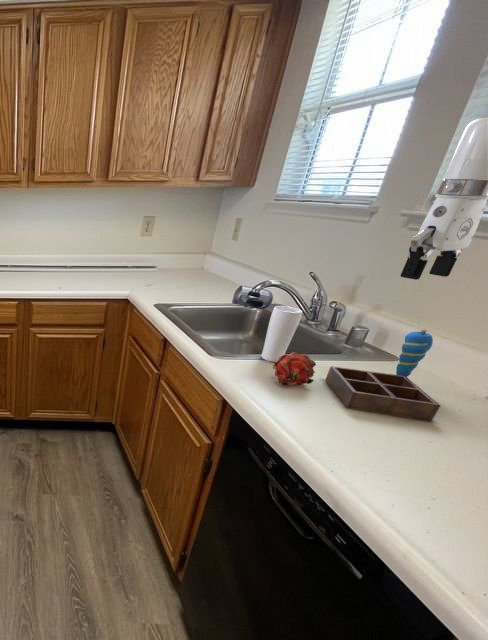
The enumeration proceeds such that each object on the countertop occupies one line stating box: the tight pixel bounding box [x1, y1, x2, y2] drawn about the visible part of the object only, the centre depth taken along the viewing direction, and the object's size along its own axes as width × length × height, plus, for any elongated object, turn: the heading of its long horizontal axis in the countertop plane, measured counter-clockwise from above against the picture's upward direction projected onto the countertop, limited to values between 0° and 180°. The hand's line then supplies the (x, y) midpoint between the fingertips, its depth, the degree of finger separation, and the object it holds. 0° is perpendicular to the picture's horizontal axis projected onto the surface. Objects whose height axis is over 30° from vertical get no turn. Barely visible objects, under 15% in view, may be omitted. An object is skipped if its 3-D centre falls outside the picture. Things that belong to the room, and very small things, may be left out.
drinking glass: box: [260, 305, 303, 363], centre depth 117 cm, size 7×7×15 cm
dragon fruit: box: [272, 351, 317, 387], centre depth 105 cm, size 8×8×12 cm
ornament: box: [395, 326, 434, 378], centre depth 105 cm, size 5×5×15 cm
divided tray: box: [324, 365, 441, 422], centre depth 99 cm, size 15×15×4 cm
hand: (424, 276), depth 90 cm, fingers open, 9 cm apart
